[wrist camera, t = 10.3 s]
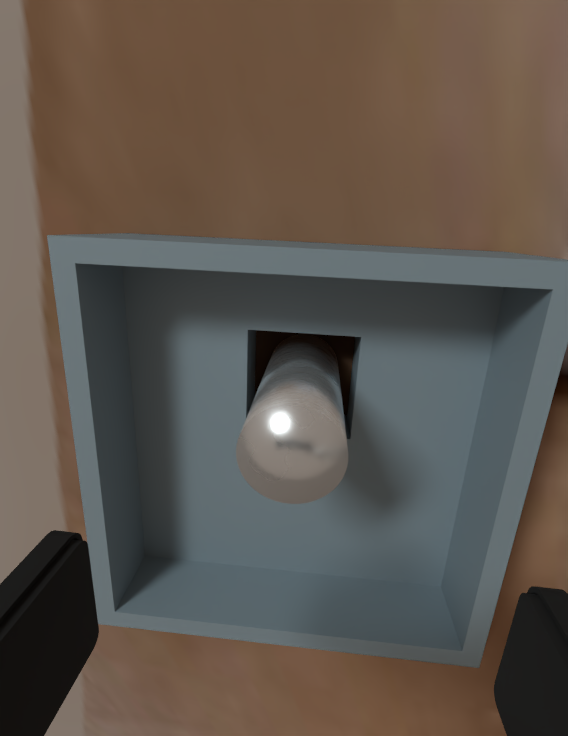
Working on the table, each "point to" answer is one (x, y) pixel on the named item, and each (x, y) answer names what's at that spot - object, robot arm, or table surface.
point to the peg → (296, 425)
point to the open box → (362, 423)
